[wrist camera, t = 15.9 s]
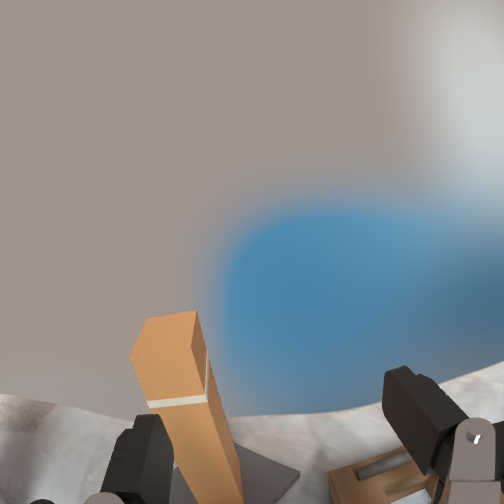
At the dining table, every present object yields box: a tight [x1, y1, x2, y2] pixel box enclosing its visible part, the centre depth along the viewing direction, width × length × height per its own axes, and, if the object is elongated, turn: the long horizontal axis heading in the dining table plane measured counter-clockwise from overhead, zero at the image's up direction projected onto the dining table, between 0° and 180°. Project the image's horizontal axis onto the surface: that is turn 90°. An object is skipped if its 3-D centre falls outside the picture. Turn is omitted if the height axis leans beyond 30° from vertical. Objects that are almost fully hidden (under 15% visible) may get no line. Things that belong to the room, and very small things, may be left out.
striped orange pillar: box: [130, 310, 244, 504], centre depth 23 cm, size 4×6×18 cm
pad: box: [169, 442, 300, 504], centre depth 25 cm, size 11×11×1 cm
